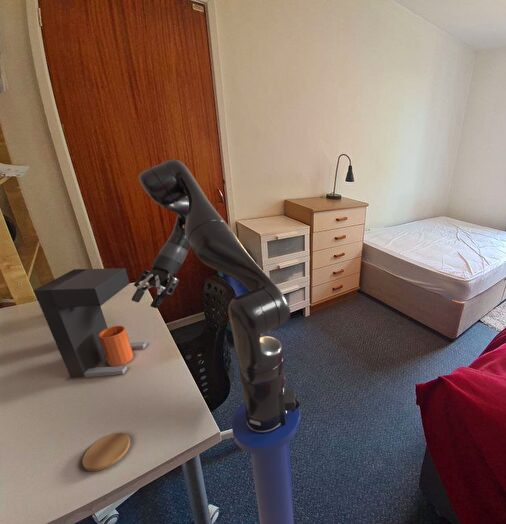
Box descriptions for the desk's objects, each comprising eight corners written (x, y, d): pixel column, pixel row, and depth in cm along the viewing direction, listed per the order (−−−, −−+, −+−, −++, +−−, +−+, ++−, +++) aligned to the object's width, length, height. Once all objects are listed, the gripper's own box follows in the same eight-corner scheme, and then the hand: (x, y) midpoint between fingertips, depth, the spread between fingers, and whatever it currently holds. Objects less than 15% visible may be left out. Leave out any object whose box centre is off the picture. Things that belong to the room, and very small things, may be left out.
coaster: (137, 433, 63) (136, 430, 62) (116, 468, 56) (115, 466, 55) (99, 437, 61) (98, 434, 61) (73, 474, 55) (72, 471, 54)
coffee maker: (146, 344, 91) (125, 268, 81) (123, 374, 79) (94, 288, 69) (101, 347, 88) (74, 269, 79) (70, 378, 77) (33, 290, 67)
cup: (137, 352, 87) (129, 324, 84) (126, 365, 82) (117, 337, 78) (116, 353, 86) (107, 326, 83) (103, 367, 81) (93, 338, 77)
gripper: (146, 250, 92) (117, 296, 86) (177, 257, 88) (149, 306, 82) (164, 260, 99) (139, 303, 93) (194, 267, 94) (169, 312, 88)
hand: (144, 304), depth 87 cm, fingers open, 8 cm apart
